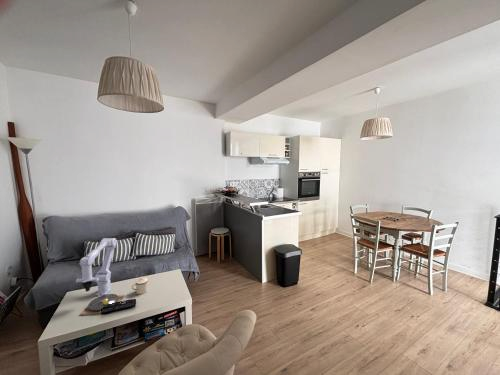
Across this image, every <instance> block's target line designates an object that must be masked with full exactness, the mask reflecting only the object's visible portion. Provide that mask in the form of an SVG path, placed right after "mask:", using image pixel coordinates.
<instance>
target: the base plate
mask: <svg viewBox="0 0 500 375" xmlns="http://www.w3.org/2000/svg"><path fill="white" fill-rule="evenodd" d="M117 296H118V301H117V302H119V301H120V302H122V300H123V299H124V298H125V297H126V296H125V294H121V295H120V294H119V295H118V294H117ZM89 315H102V314H101V312H100V311H91V310H89V309H88V306H87V307H86V308H84V309H83V311H81V312H80V313H79V316H80V317H81V316H89Z"/></svg>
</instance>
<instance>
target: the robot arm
mask: <svg viewBox="0 0 500 375" xmlns="http://www.w3.org/2000/svg"><path fill="white" fill-rule="evenodd" d="M117 244H118V241H117V238H115V237H113V238H109V237H103V238H102V239H101V240H100V243H99V244H98V246H97V247H96V248H95V249H92V250H91V251H90V252H89V253H87V255H85V256H84V257H82V258H81V259H80V260H79V264H78V265H79V266H80V268H81V276H82V278H81V277H80V278H77V279H75V283H76V284H77V283H81V285H82V287H83V288H84V289H85V292H86V293H87V292H89V291H90V290H91V286H92V284H93V282H96V284H97V293H95V296H103V295H107V294H109V292H111V290H112V289H113V287H112V284H111V275H112V271H110V265H111V263H112V262H111V261H112V258H113V256H114V255H113V254H114V252H115V248H116V247H117ZM104 249H105V254H104V257H103V262H102V266H101V269H99V270H98V271H97V273H96V275H95V276H93V267H92V266H93V263H94V261H95V259H96V258H97V257H98V256H99V255H100V252H101V251H102V250H104Z"/></svg>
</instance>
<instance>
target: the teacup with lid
mask: <svg viewBox="0 0 500 375" xmlns="http://www.w3.org/2000/svg"><path fill="white" fill-rule="evenodd" d="M134 286H135V287H136V288H134ZM131 289H132V290H133V291H136V294H137V295H142V294H145V293H147V292H148V291H149V279H148V278H147V277H140V278H138V280H136V281H135V283H133V284H132V286H131Z"/></svg>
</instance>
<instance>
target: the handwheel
mask: <svg viewBox="0 0 500 375" xmlns="http://www.w3.org/2000/svg"><path fill="white" fill-rule="evenodd" d="M117 301H118V294H116V293H107V294H106V295H99V296H97V297H95V298H94V299H92V300H91V301H90V302H89V304H88V305H87V307H88V309H89V310H91V311H100V310H101V309H102V308H103V307H104V306H107V305H108V304H112V303H116V302H117Z"/></svg>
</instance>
